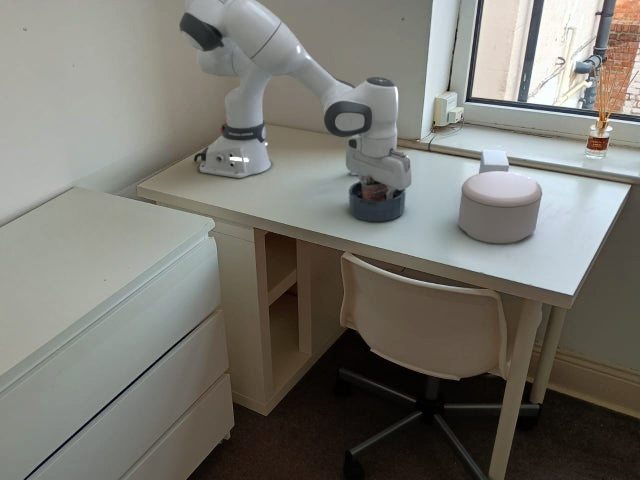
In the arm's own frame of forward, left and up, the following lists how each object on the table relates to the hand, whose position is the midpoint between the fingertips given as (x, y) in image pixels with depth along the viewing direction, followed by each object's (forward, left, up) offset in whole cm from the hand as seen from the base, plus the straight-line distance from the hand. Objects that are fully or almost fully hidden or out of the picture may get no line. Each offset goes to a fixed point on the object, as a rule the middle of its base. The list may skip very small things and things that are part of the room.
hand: (376, 194), depth 175 cm
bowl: (0, 0, -5) cm, 5 cm away
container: (+30, -5, -5) cm, 31 cm away
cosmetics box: (+28, +15, -5) cm, 32 cm away
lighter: (0, 0, -4) cm, 4 cm away
